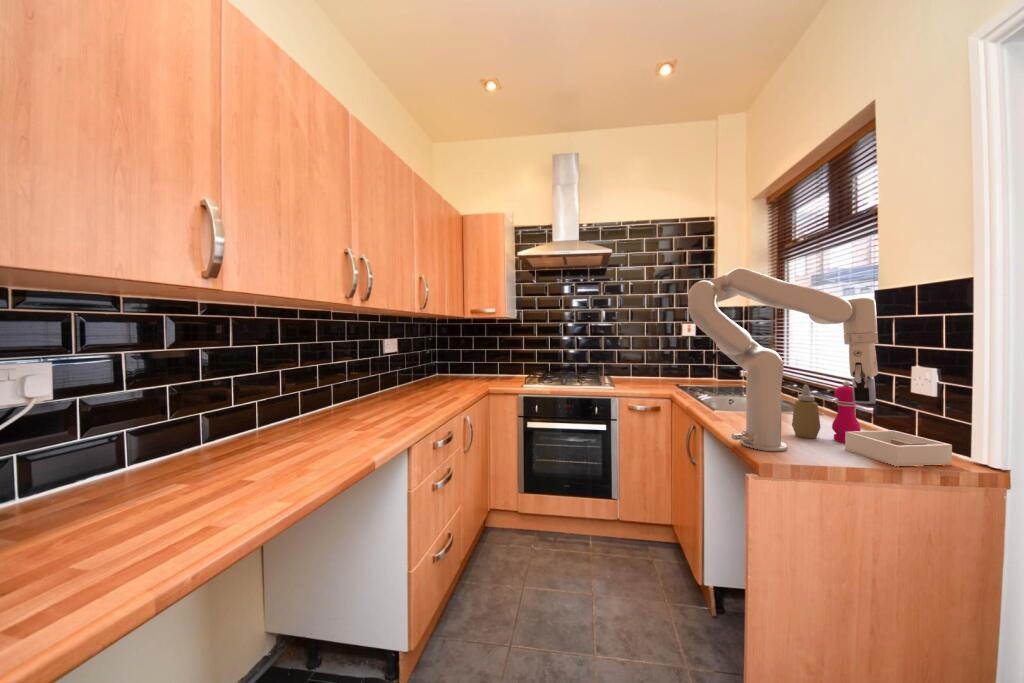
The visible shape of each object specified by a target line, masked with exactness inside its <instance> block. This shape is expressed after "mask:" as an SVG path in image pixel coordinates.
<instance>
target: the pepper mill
mask: <svg viewBox="0 0 1024 683" xmlns="http://www.w3.org/2000/svg"><path fill="white" fill-rule="evenodd" d="M850 385H851V383H850V382H849V381H847V380H846V381H844V382H843V383H842V386H838V387H837V388H835V390H834V397H836V399H837V400H836V405H837V414H836V416H835V417H834V419H833V422H832V424H831V428H832V431H833V432H834V434H833V440H834V441H836V442H838V443H841V444H842V443H843V444H845V432H852V431H862V429H861V426H860V423H859V421H858V419H857V417H856V413H855V412H856V411H855V407H856V406H857V403H855V402H853V386H850Z"/></svg>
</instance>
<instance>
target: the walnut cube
mask: <svg viewBox="0 0 1024 683" xmlns="http://www.w3.org/2000/svg"><path fill="white" fill-rule="evenodd" d="M891 444H893V445H897V446H903V445H927V444H926V443H922V442H919V441H915V440H911V439H891Z"/></svg>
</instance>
